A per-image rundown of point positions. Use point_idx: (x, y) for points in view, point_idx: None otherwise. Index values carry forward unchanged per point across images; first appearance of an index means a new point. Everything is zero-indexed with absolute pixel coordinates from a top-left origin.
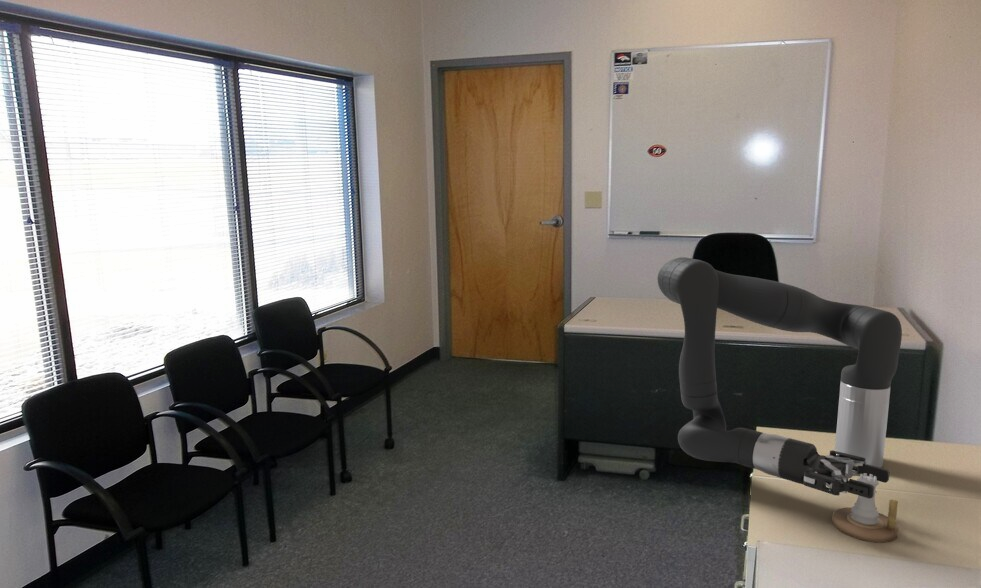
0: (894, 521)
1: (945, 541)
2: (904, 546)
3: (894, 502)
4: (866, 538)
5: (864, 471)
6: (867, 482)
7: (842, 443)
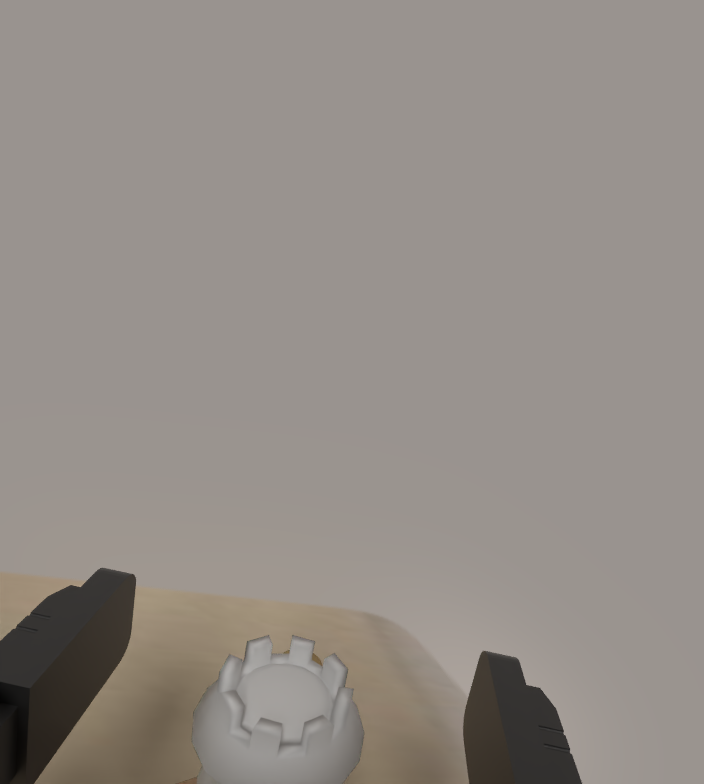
0: None
1: (207, 647)
2: None
3: (319, 661)
4: None
5: (12, 752)
6: (353, 710)
7: None
